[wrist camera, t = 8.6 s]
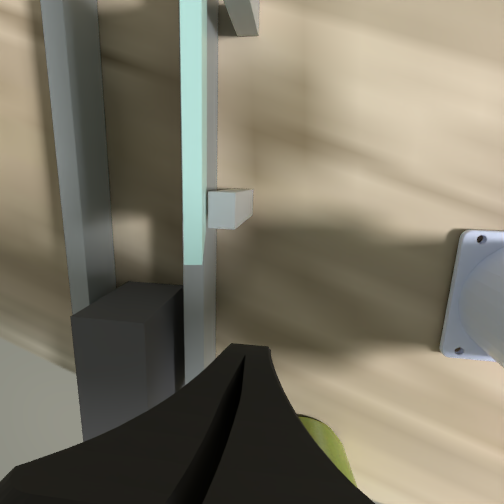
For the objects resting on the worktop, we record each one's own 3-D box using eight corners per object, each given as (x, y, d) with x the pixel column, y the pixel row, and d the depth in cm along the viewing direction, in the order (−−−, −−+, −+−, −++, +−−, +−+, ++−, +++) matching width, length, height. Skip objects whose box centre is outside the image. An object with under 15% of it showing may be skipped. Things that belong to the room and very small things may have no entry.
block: (184, 285, 21) (144, 323, 16) (186, 387, 23) (150, 455, 17) (129, 281, 22) (70, 316, 16) (135, 381, 24) (83, 446, 18)
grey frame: (260, -13, 17) (242, -117, 11) (246, 385, 22) (229, 458, 17) (77, -6, 18) (-27, -95, 12) (107, 369, 24) (44, 431, 18)
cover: (195, -42, 14) (206, -41, 14) (197, 223, 17) (206, 223, 17) (173, -344, 6) (200, -336, 6) (183, 265, 9) (202, 265, 9)
